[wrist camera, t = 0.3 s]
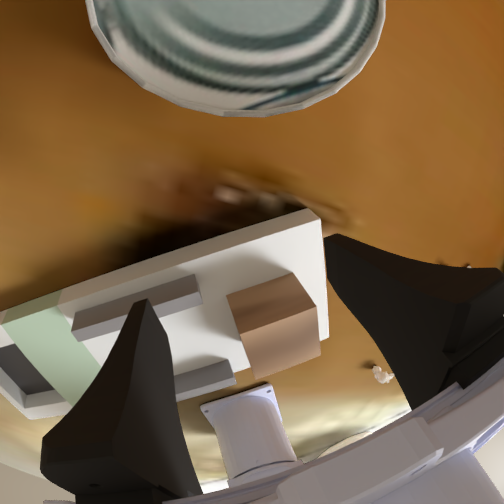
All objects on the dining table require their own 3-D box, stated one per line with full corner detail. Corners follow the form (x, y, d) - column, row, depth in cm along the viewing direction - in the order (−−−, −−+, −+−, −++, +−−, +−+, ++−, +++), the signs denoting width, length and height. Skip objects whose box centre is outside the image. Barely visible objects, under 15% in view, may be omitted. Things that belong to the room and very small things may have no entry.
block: (300, 320, 25) (320, 355, 22) (241, 341, 25) (255, 379, 21) (292, 272, 23) (316, 306, 19) (225, 295, 22) (239, 334, 19)
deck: (319, 323, 29) (338, 352, 26) (32, 405, 25) (27, 435, 22) (307, 207, 23) (334, 231, 19) (-38, 326, 19) (-53, 357, 15)
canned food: (121, -4, 12) (82, -107, 2) (252, -22, 14) (360, -109, 4) (140, 114, 17) (110, 151, 7) (268, 90, 18) (398, 107, 8)
